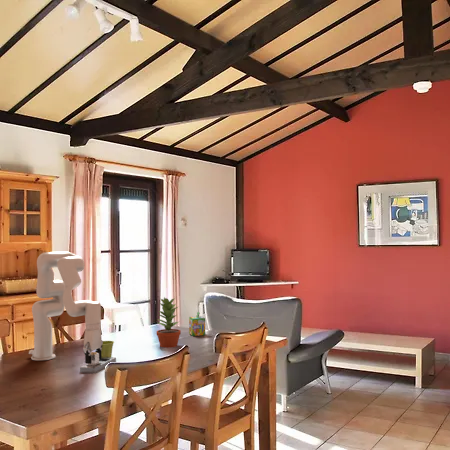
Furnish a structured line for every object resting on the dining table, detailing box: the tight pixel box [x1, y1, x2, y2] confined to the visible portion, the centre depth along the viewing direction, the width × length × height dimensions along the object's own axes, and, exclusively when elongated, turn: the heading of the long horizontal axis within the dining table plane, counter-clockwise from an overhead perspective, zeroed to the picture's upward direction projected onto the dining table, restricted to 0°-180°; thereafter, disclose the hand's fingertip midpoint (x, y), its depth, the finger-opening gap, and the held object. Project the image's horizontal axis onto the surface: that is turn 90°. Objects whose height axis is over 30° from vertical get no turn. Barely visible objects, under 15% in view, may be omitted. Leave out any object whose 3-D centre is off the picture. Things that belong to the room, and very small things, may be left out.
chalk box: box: [188, 311, 206, 337], centre depth 346 cm, size 9×9×15 cm
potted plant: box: [156, 296, 181, 349], centre depth 313 cm, size 15×15×30 cm
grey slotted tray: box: [79, 356, 117, 374], centre depth 264 cm, size 8×22×2 cm, turn 164°
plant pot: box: [101, 340, 115, 357], centre depth 283 cm, size 9×9×9 cm
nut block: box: [88, 351, 99, 366], centre depth 259 cm, size 4×4×8 cm
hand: (93, 361), depth 259 cm, fingers open, 9 cm apart
